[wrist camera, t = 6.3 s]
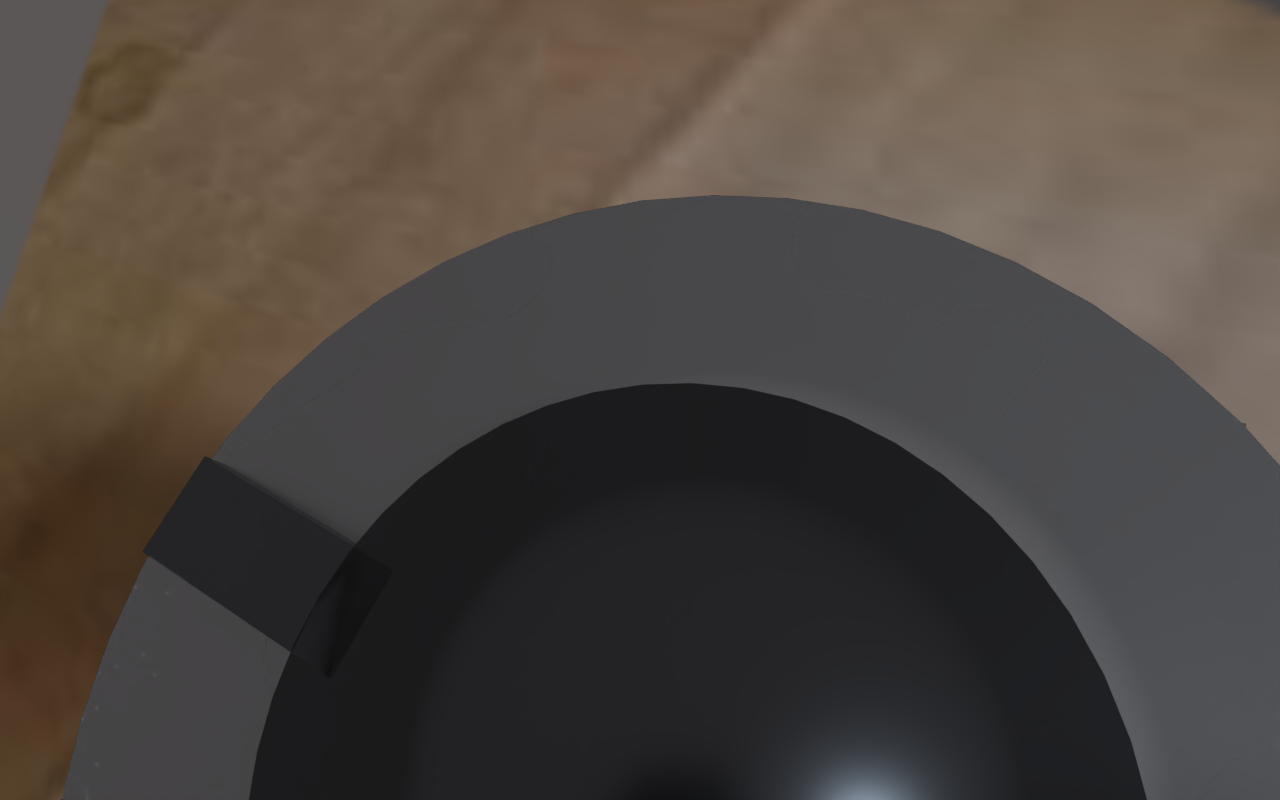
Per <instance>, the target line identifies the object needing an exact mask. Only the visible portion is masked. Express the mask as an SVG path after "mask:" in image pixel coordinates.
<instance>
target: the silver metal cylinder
mask: <svg viewBox="0 0 1280 800" xmlns="http://www.w3.org/2000/svg"><path fill="white" fill-rule="evenodd" d="M143 552H144V553H145V554H147V555H148V556H149V557H148V558H147V560H146V562H145V564H144V565H143V567H142V569H141V571H140V573H139V575H138V578H137V580H136V582H135V584H134V586H133V589H132V591H131V593H130V595H129V597H128V599H127V602H126V604H125V606H124V608H123V610H122V613H121V615H120V617H119V619H118V621H117V623H116V626H115V628H114V630H113V632H112V634H111V637H110V639H109V641H108V644H107V647H106V650H105V652H104V655H103V658H102V661H101V664H100V667H99V670H98V673H97V676H96V679H95V682H94V684H93V687H92V690H91V693H90V696H89V699H88V702H87V705H86V708H85V711H84V714H83V716H82V719H81V723H80V727H79V731H78V735H77V740H76V744H75V748H74V752H73V757H72V761H71V765H70V769H69V773H68V778H67V782H66V786H65V790H64V794H63V799H62V800H1280V466H1279V464H1278V463H1277V462H1276V461H1275V460H1274V459H1273V458H1272V457H1271V455H1270V454H1269V453H1268V452H1267V451H1266V450H1265V449H1264V448H1263V446H1262V445H1261V444H1260V443H1259V442H1258V441H1257V440H1256V439H1255V437H1254V436H1253V435H1252V434H1251V433H1250V432H1249V431H1248V430H1247V428H1246V427H1245V426H1244V425H1243V424H1242V423H1241V422H1240V421H1239V420H1238V419H1237V418H1236V417H1234V416H1233V415H1232V414H1231V413H1230V412H1229V411H1228V410H1227V409H1225V408H1224V407H1223V406H1222V405H1221V404H1220V403H1219V402H1218V401H1217V400H1215V399H1214V398H1213V397H1212V396H1211V395H1210V394H1209V393H1208V392H1206V391H1205V390H1204V389H1203V388H1202V387H1201V386H1200V385H1199V384H1197V383H1196V382H1195V381H1194V380H1193V379H1192V378H1191V377H1190V376H1188V375H1187V374H1186V373H1185V372H1184V371H1183V370H1182V369H1181V368H1180V367H1178V366H1177V365H1176V364H1175V363H1174V362H1173V361H1172V360H1171V359H1169V358H1168V357H1167V356H1166V355H1164V354H1163V353H1161V352H1160V351H1158V350H1157V349H1156V348H1154V347H1153V346H1151V345H1150V344H1149V343H1147V342H1146V341H1144V340H1143V339H1141V338H1140V337H1139V336H1137V335H1136V334H1134V333H1133V332H1131V331H1130V330H1129V329H1127V328H1126V327H1124V326H1123V325H1122V324H1120V323H1119V322H1117V321H1116V320H1114V319H1113V318H1112V317H1110V316H1109V315H1107V314H1106V313H1105V312H1103V311H1102V310H1100V309H1099V308H1097V307H1096V306H1095V305H1093V304H1092V303H1090V302H1088V301H1086V300H1084V299H1082V298H1081V297H1079V296H1077V295H1075V294H1073V293H1071V292H1070V291H1068V290H1066V289H1064V288H1062V287H1060V286H1059V285H1057V284H1055V283H1053V282H1051V281H1049V280H1048V279H1046V278H1044V277H1042V276H1040V275H1038V274H1037V273H1035V272H1033V271H1031V270H1029V269H1027V268H1026V267H1024V266H1022V265H1020V264H1018V263H1016V262H1014V261H1012V260H1009V259H1007V258H1004V257H1002V256H999V255H997V254H994V253H992V252H989V251H987V250H984V249H982V248H980V247H977V246H975V245H972V244H970V243H967V242H965V241H962V240H960V239H957V238H955V237H952V236H950V235H947V234H945V233H942V232H940V231H937V230H933V229H930V228H926V227H922V226H919V225H915V224H912V223H908V222H904V221H901V220H897V219H894V218H890V217H886V216H883V215H879V214H875V213H872V212H868V211H865V210H860V209H854V208H847V207H841V206H834V205H828V204H821V203H815V202H809V201H802V200H796V199H789V198H771V197H746V196H720V195H710V196H697V197H683V198H670V199H657V200H643V201H637V202H632V203H627V204H622V205H617V206H611V207H606V208H601V209H596V210H590V211H585V212H580V213H575V214H571V215H568V216H564V217H561V218H558V219H555V220H552V221H548V222H545V223H542V224H539V225H535V226H532V227H529V228H526V229H523V230H519V231H516V232H513V233H510V234H507V235H504V236H502V237H500V238H498V239H495V240H493V241H491V242H488V243H486V244H484V245H482V246H479V247H477V248H475V249H472V250H470V251H468V252H466V253H463V254H461V255H459V256H456V257H454V258H452V259H450V260H447V261H445V262H443V263H441V264H439V265H438V266H436V267H434V268H432V269H431V270H429V271H427V272H426V273H424V274H422V275H420V276H419V277H417V278H415V279H413V280H412V281H410V282H408V283H406V284H405V285H403V286H401V287H399V288H398V289H396V290H394V291H393V292H391V293H389V294H387V295H386V296H384V297H382V298H381V299H380V300H378V301H377V302H376V303H374V304H373V305H371V306H370V307H369V308H367V309H366V310H365V311H363V312H362V313H360V314H359V315H358V316H356V317H355V318H354V319H352V320H351V321H349V322H348V323H347V324H345V325H344V326H343V327H341V328H340V329H339V330H337V331H336V332H334V333H333V334H332V335H330V336H329V337H328V338H326V339H325V340H324V341H323V342H322V343H321V344H320V345H319V346H317V347H316V348H315V349H314V350H313V351H312V352H311V353H310V354H309V355H308V356H306V357H305V358H304V359H303V360H302V361H301V362H300V363H299V364H298V365H296V366H295V367H294V368H293V369H292V370H291V371H290V372H289V373H288V374H287V375H285V376H284V377H283V378H282V379H281V380H280V381H279V382H278V383H277V384H276V385H274V386H273V388H272V389H271V390H270V391H269V392H268V393H267V394H266V395H265V396H264V398H263V399H262V400H261V401H260V402H259V403H258V404H257V405H256V406H255V408H254V409H253V410H252V411H251V412H250V413H249V414H248V415H247V417H246V418H245V419H244V420H243V421H242V422H241V423H240V424H239V425H238V427H237V428H236V429H235V430H234V431H233V432H232V433H231V434H230V435H229V437H228V438H227V439H226V440H225V441H224V443H223V444H222V445H221V447H220V448H219V449H218V451H217V452H216V454H215V455H214V456H213V458H212V459H210V458H207V457H204V458H203V460H202V461H201V463H200V465H199V466H198V468H197V469H196V471H195V472H194V474H193V475H192V477H191V478H190V480H189V481H188V483H187V484H186V486H185V487H184V489H183V490H182V492H181V494H180V495H179V497H178V498H177V500H176V501H175V503H174V504H173V506H172V507H171V509H170V510H169V512H168V513H167V515H166V516H165V518H164V520H163V521H162V523H161V524H160V526H159V527H158V529H157V530H156V532H155V533H154V535H153V536H152V538H151V539H150V541H149V542H148V544H147V545H146V547H145V549H144V550H143Z"/></svg>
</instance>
